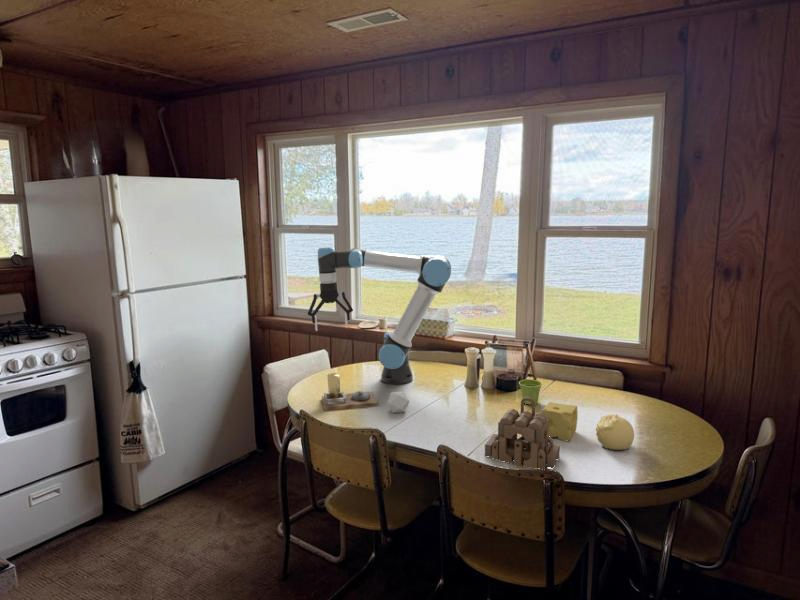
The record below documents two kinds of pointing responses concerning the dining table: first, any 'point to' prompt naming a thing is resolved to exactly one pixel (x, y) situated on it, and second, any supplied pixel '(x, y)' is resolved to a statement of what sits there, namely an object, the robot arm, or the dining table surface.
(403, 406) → the die
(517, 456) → the wooden puzzle
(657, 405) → the dining table surface
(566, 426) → the cheese
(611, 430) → the sculpture
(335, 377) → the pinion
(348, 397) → the gear board
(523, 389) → the plant pot
